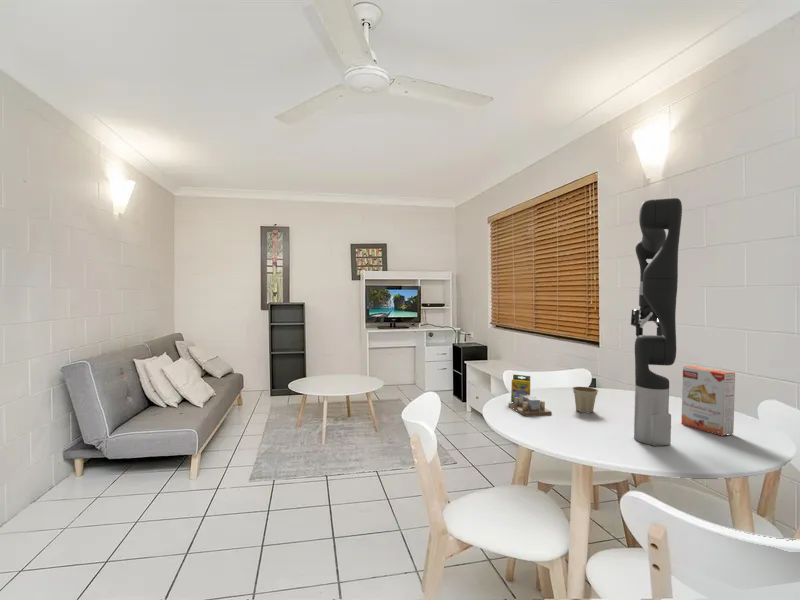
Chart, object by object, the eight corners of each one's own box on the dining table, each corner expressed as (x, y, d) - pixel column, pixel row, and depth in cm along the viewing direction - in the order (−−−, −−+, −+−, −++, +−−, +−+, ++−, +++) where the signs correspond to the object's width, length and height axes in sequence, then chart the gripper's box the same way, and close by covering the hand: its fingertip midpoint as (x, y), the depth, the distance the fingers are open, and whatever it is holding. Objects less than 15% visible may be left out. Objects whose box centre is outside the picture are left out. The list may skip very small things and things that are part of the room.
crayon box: (510, 403, 179) (511, 375, 178) (512, 401, 181) (512, 374, 181) (528, 405, 175) (529, 377, 175) (530, 403, 178) (530, 375, 178)
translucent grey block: (539, 410, 163) (539, 400, 163) (531, 410, 163) (531, 400, 163) (527, 403, 173) (527, 393, 173) (519, 403, 173) (519, 394, 172)
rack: (551, 414, 162) (551, 403, 162) (524, 416, 160) (524, 404, 160) (533, 405, 176) (533, 394, 176) (508, 406, 174) (508, 395, 174)
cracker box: (680, 424, 152) (681, 365, 152) (691, 422, 154) (693, 365, 154) (722, 437, 139) (723, 373, 139) (734, 435, 141) (736, 372, 141)
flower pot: (592, 408, 172) (593, 386, 172) (601, 414, 163) (602, 392, 163) (568, 407, 173) (569, 386, 173) (576, 413, 164) (576, 391, 163)
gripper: (641, 293, 153) (640, 338, 154) (675, 294, 156) (674, 338, 156) (626, 293, 161) (625, 336, 161) (659, 294, 164) (658, 336, 164)
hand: (649, 337), depth 159 cm, fingers open, 8 cm apart
